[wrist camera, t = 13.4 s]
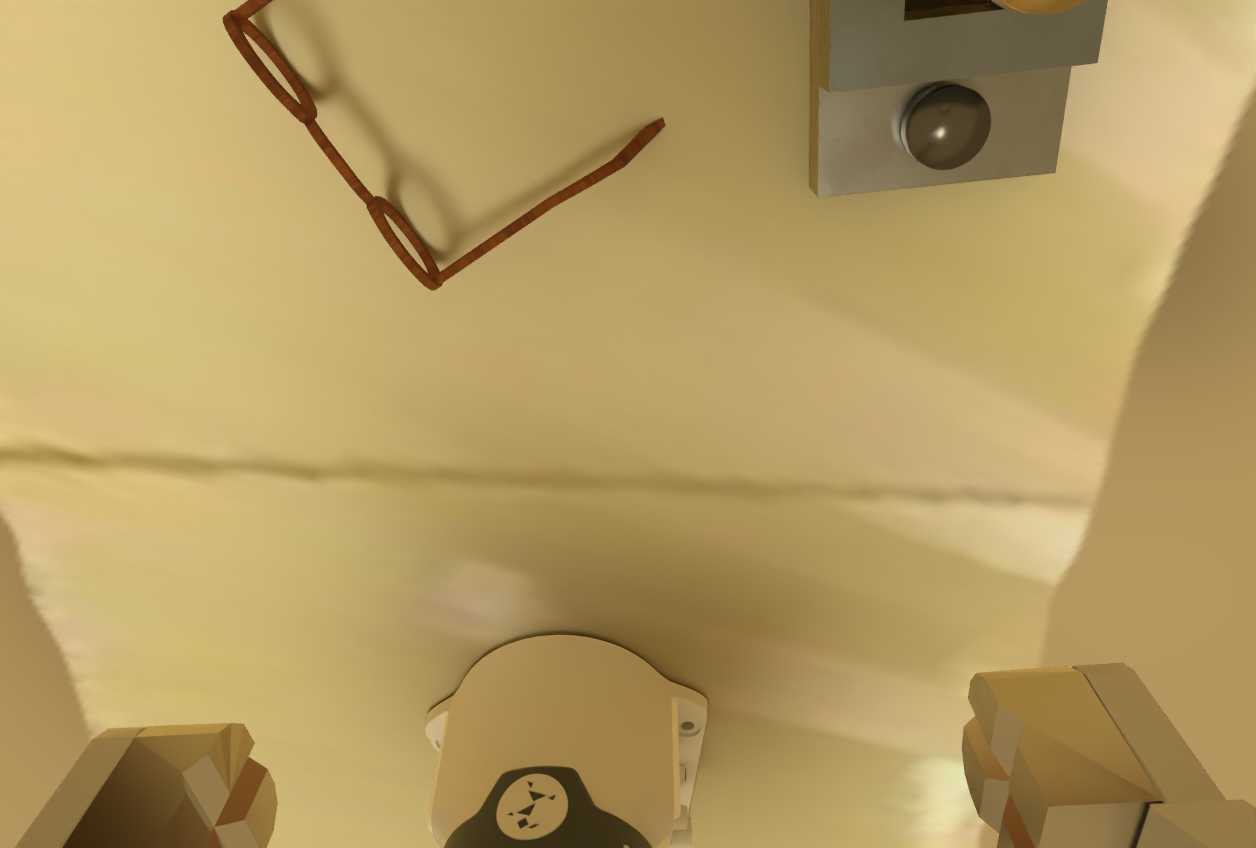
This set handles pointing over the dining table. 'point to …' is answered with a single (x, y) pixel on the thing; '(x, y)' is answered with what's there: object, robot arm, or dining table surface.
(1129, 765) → the robot arm
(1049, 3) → the pin
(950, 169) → the metal plate with knobs
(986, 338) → the dining table surface
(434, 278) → the glasses
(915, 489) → the dining table surface
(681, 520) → the dining table surface
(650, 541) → the dining table surface
